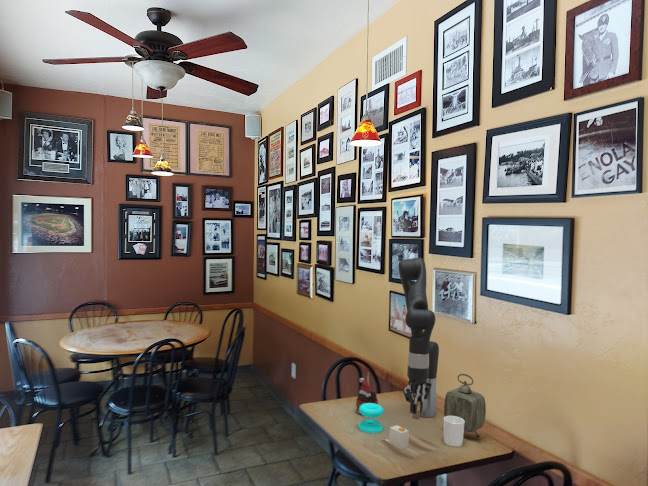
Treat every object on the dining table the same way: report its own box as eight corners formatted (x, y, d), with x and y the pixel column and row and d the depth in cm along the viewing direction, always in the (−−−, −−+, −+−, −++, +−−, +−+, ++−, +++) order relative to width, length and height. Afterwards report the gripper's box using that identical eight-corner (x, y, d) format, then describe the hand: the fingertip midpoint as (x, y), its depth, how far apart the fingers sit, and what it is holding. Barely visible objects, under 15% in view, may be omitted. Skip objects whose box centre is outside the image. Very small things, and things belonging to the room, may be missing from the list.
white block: (396, 440, 169) (397, 423, 169) (408, 446, 164) (409, 429, 164) (389, 443, 167) (389, 425, 167) (400, 449, 162) (401, 431, 162)
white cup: (460, 452, 164) (461, 425, 164) (439, 446, 169) (440, 420, 169) (465, 444, 171) (467, 418, 171) (445, 439, 175) (446, 414, 175)
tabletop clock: (484, 439, 177) (487, 376, 177) (473, 445, 171) (476, 381, 171) (452, 427, 187) (454, 368, 187) (440, 432, 181) (443, 371, 181)
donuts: (360, 400, 186) (384, 403, 184) (359, 424, 186) (383, 427, 184) (357, 409, 176) (382, 412, 174) (356, 434, 176) (381, 437, 174)
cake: (382, 415, 197) (384, 374, 197) (365, 418, 192) (367, 377, 192) (367, 407, 206) (369, 368, 206) (351, 410, 201) (353, 371, 201)
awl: (421, 418, 159) (422, 393, 159) (416, 419, 157) (417, 394, 157) (415, 415, 161) (416, 391, 161) (410, 417, 160) (411, 392, 160)
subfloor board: (407, 434, 178) (407, 431, 178) (439, 450, 165) (440, 447, 165) (375, 445, 167) (375, 442, 167) (407, 463, 154) (407, 460, 154)
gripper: (422, 359, 166) (420, 405, 166) (397, 364, 158) (395, 413, 158) (438, 364, 161) (436, 412, 160) (413, 370, 152) (411, 420, 152)
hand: (416, 412), depth 159 cm, fingers closed on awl, 2 cm apart
